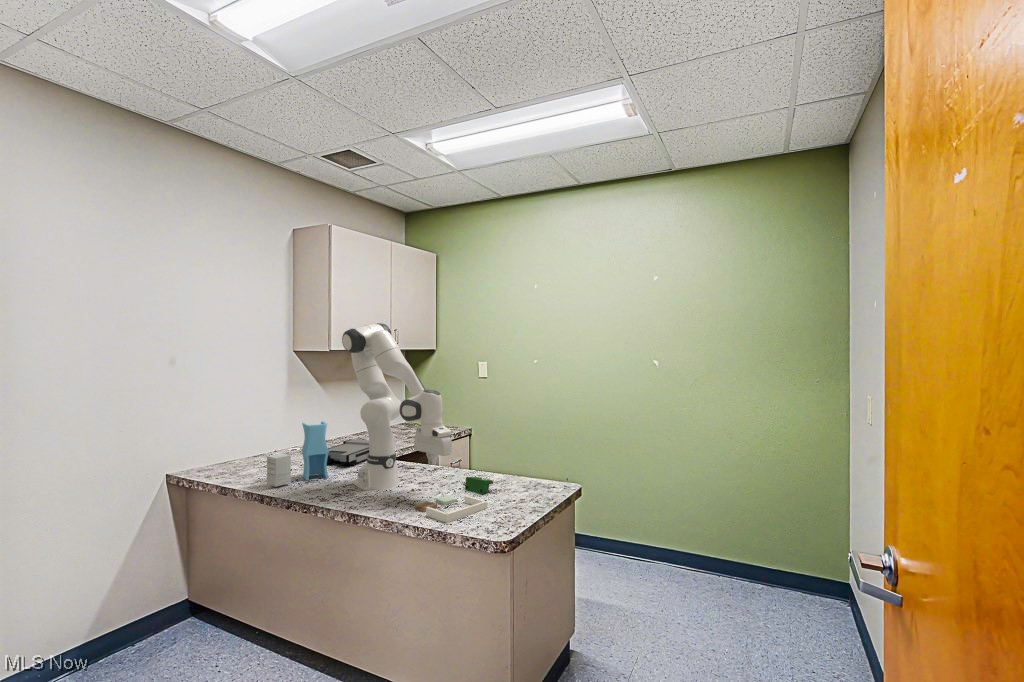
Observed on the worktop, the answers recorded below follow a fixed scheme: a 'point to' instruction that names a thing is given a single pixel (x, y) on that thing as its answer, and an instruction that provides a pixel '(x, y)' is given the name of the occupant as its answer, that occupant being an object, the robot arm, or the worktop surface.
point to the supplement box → (278, 469)
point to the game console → (349, 452)
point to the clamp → (477, 485)
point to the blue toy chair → (315, 450)
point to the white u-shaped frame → (451, 516)
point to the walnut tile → (423, 506)
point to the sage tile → (446, 500)
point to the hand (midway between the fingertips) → (432, 464)
